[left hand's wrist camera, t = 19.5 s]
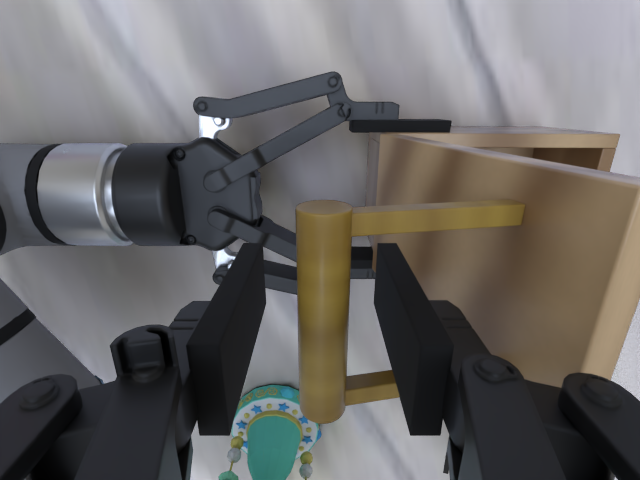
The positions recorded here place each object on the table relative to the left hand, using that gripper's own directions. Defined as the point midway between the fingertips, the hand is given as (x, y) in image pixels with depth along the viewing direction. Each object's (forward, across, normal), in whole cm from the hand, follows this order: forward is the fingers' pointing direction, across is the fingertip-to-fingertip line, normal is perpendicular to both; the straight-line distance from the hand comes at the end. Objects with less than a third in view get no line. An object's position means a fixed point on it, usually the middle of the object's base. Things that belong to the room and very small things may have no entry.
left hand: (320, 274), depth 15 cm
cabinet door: (+3, -6, 0) cm, 7 cm away
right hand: (+13, -9, 0) cm, 16 cm away
